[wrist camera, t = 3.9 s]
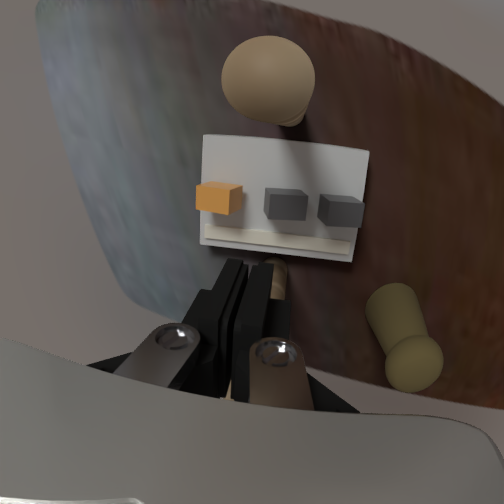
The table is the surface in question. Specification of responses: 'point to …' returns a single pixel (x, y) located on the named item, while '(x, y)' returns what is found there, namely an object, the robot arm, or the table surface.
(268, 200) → the grey block
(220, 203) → the orange block
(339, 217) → the grey block
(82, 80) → the table surface
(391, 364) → the cork
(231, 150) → the panel
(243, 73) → the post near
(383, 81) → the table surface
